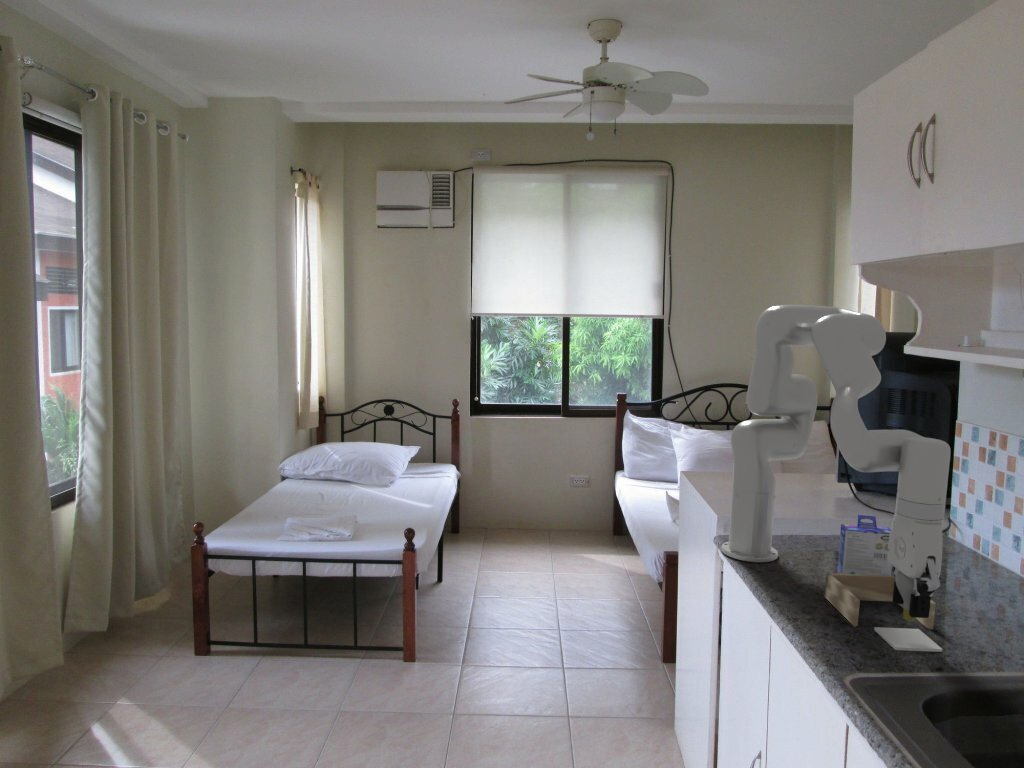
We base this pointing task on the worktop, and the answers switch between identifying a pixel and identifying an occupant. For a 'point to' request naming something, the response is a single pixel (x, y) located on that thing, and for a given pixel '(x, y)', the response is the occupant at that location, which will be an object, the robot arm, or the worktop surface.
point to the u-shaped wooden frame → (863, 594)
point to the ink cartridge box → (864, 548)
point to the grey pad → (907, 639)
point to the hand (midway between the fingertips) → (910, 608)
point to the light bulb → (906, 592)
